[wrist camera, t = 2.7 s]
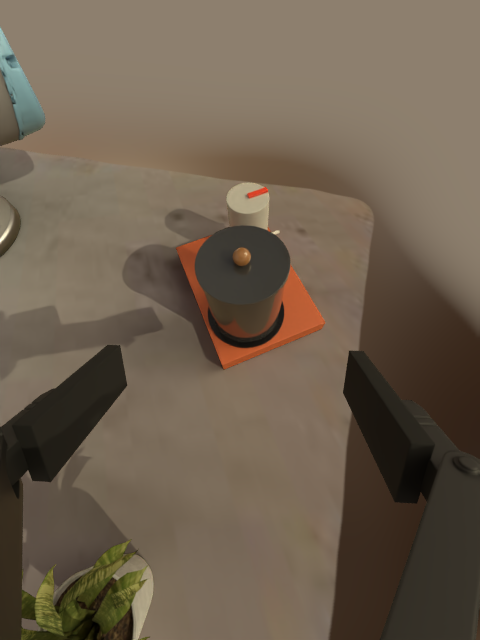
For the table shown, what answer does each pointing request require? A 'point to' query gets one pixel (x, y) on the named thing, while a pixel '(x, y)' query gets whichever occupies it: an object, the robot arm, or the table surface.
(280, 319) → the burner
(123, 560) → the house plant
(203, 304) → the hot plate
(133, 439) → the table surface
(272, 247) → the enamel pot
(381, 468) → the robot arm
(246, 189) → the hob knob
